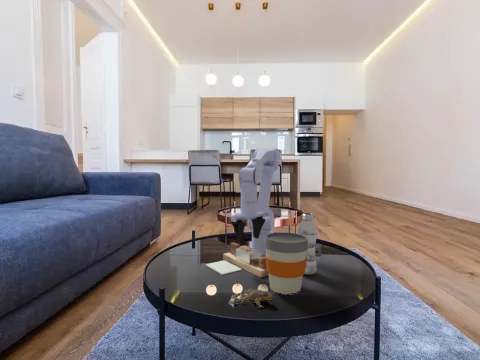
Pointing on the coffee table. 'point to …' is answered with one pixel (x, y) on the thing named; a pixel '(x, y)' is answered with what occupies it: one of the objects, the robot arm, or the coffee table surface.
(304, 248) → the reusable coffee cup
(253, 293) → the frog figurine
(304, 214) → the plastic bottle
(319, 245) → the coffee table surface
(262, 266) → the hand plane
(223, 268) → the felt pad
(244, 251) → the brass-inlaid steel block
